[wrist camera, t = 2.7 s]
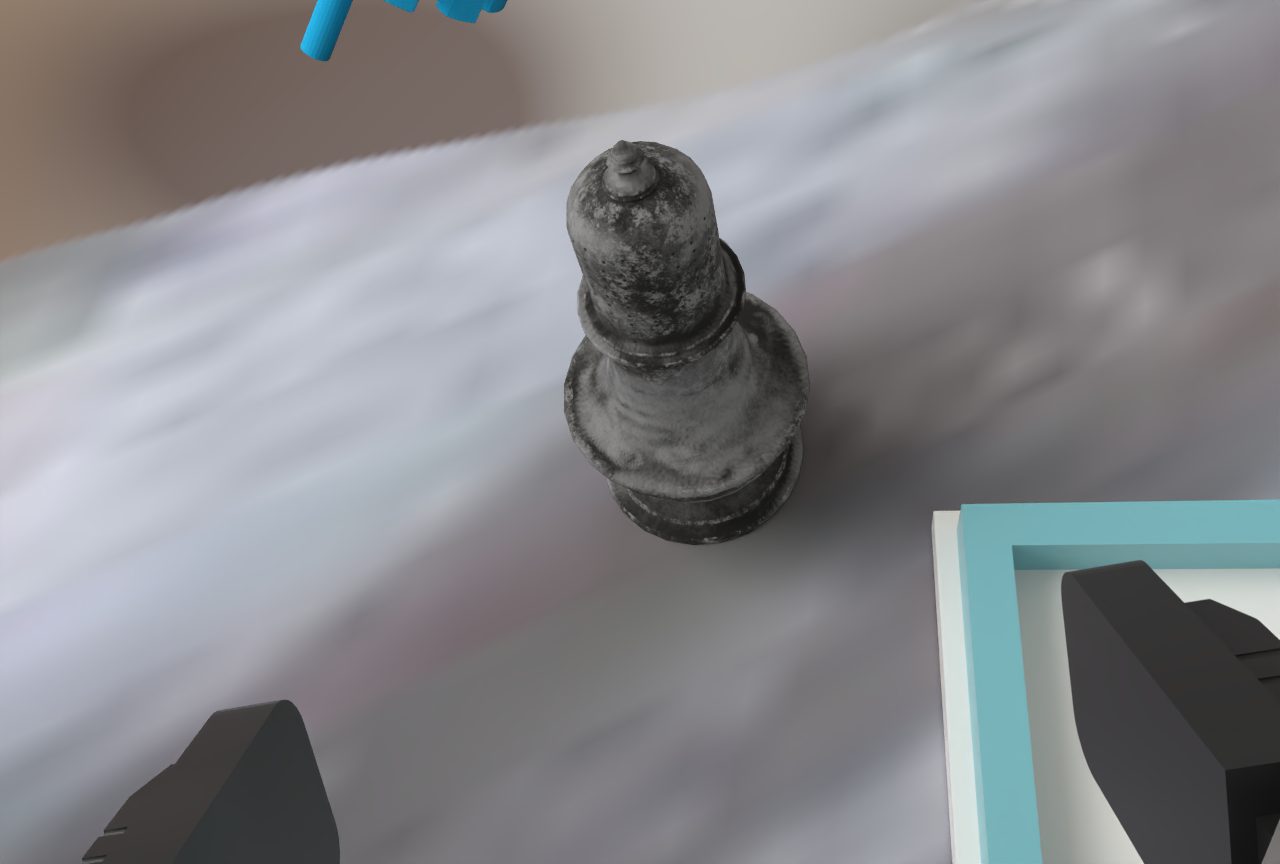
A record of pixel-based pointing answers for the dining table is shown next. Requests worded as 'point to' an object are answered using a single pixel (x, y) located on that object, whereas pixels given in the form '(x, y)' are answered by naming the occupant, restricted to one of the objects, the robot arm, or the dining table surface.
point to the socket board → (1061, 654)
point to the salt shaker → (677, 355)
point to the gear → (335, 3)
